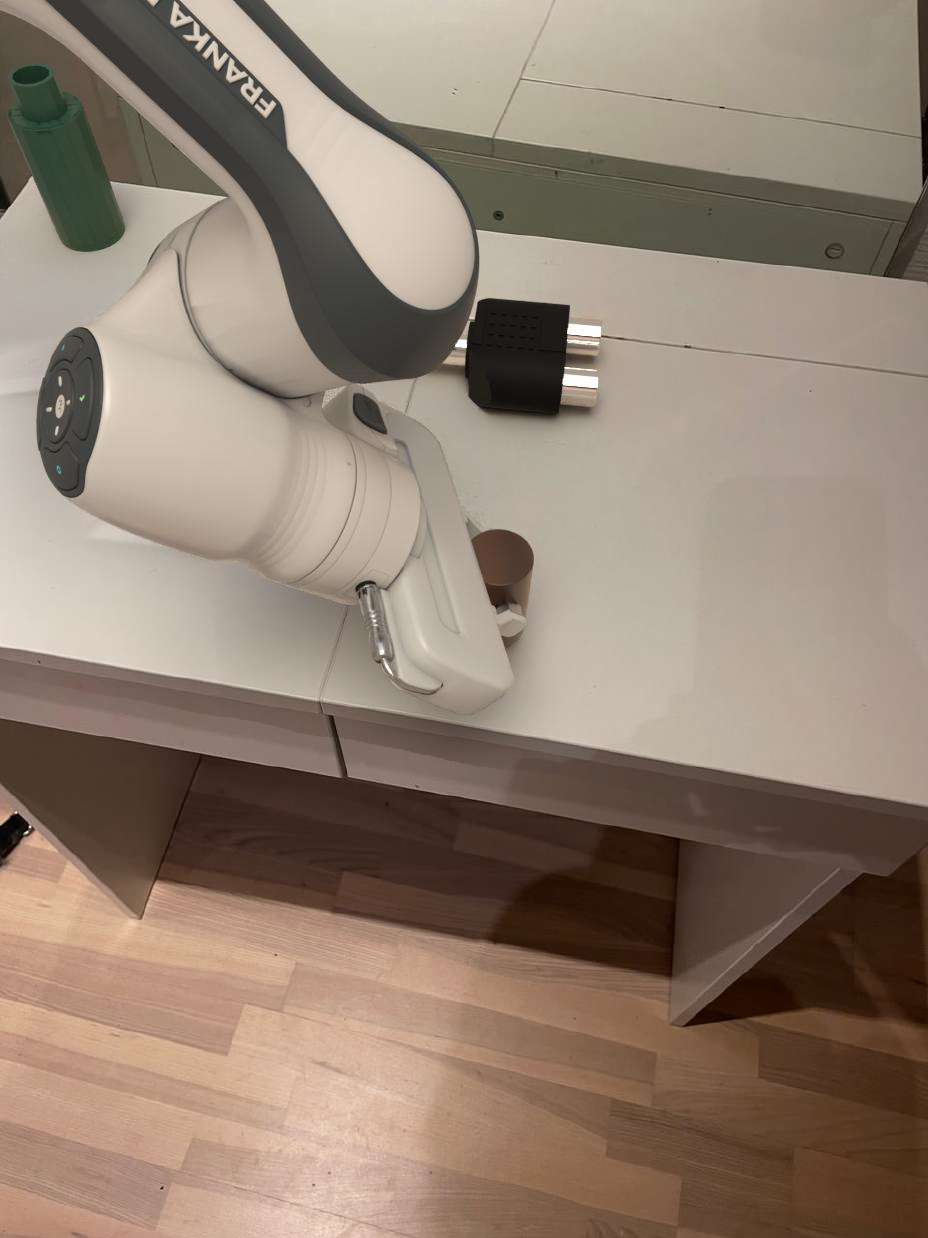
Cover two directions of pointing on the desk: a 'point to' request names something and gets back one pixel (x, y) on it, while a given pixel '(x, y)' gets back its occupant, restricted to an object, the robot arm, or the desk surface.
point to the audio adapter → (527, 356)
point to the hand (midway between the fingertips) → (505, 586)
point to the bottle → (63, 159)
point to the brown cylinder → (505, 569)
